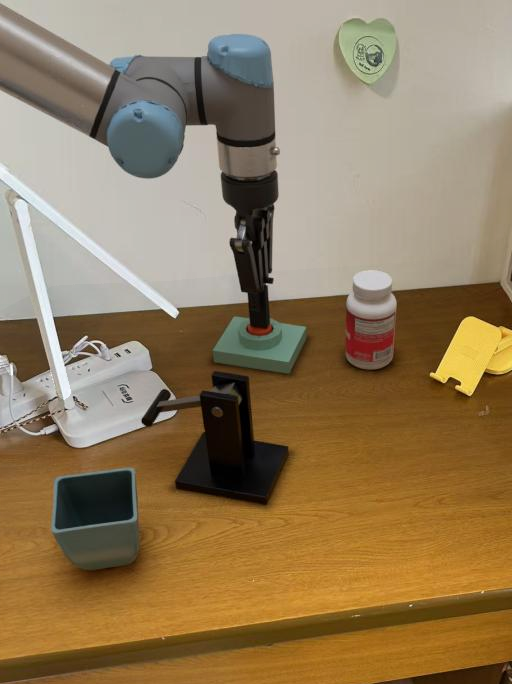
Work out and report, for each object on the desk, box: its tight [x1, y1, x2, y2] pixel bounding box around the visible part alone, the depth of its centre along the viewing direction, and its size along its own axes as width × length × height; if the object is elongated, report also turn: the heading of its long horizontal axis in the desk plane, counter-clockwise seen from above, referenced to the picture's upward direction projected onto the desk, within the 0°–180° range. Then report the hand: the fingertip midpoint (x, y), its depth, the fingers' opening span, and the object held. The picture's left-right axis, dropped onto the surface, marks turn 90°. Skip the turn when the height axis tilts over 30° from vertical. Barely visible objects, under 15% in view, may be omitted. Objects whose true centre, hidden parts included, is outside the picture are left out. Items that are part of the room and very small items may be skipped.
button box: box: [212, 316, 307, 375], centre depth 119 cm, size 12×10×4 cm
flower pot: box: [50, 467, 141, 571], centre depth 87 cm, size 9×9×9 cm
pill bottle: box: [344, 269, 398, 371], centre depth 115 cm, size 8×8×14 cm
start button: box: [248, 323, 272, 336], centre depth 118 cm, size 4×4×2 cm
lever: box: [140, 383, 242, 428], centre depth 94 cm, size 12×6×2 cm, turn 77°
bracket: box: [174, 370, 290, 505], centre depth 96 cm, size 12×10×14 cm
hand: (260, 324), depth 117 cm, fingers closed
